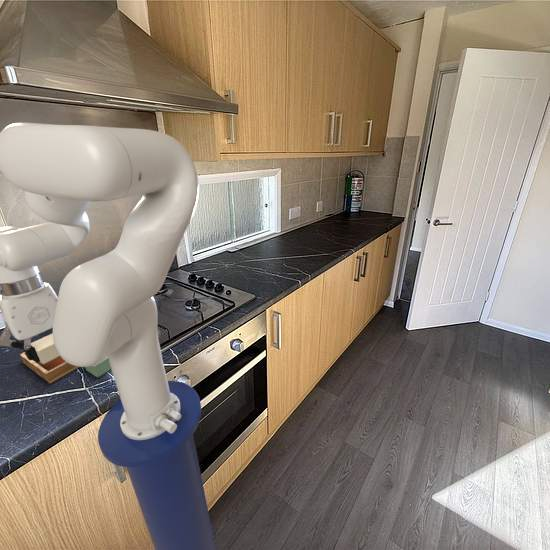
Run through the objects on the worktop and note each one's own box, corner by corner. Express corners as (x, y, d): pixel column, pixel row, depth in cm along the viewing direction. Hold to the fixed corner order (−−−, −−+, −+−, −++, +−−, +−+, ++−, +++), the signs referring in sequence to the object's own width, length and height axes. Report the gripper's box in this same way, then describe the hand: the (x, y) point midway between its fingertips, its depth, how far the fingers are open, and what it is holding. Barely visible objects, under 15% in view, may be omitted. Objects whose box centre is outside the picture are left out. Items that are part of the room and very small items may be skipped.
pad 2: (117, 365, 81) (114, 354, 80) (97, 377, 77) (93, 366, 76) (105, 358, 84) (102, 348, 83) (86, 370, 80) (82, 359, 78)
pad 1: (69, 351, 71) (64, 338, 70) (43, 364, 67) (37, 351, 66) (58, 344, 74) (53, 332, 73) (32, 357, 70) (27, 344, 68)
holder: (83, 364, 82) (80, 355, 81) (50, 383, 76) (46, 374, 74) (55, 347, 90) (52, 338, 89) (23, 363, 83) (19, 354, 82)
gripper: (-25, 305, 55) (13, 380, 62) (72, 273, 68) (94, 338, 75) (-38, 297, 59) (0, 369, 66) (56, 268, 72) (79, 331, 79)
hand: (50, 352), depth 70 cm, fingers closed on pad 1, 5 cm apart
